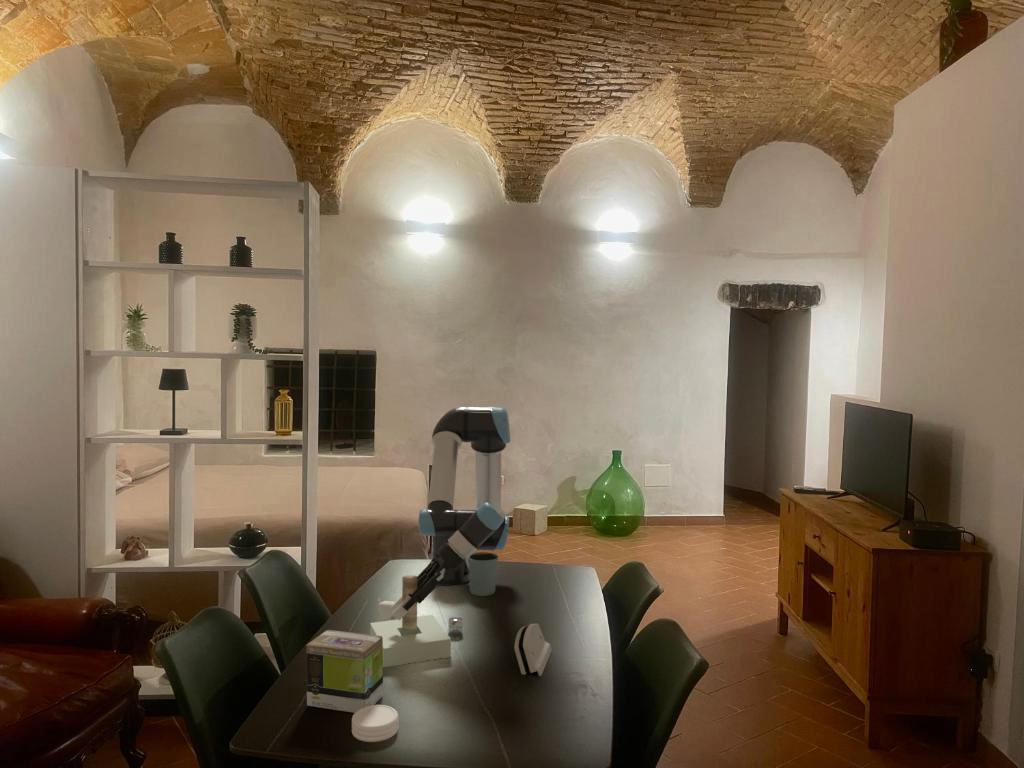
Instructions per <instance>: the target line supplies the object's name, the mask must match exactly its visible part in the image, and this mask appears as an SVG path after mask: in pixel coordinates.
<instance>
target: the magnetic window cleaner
mask: <svg viewBox="0 0 1024 768" xmlns="http://www.w3.org/2000/svg"><path fill="white" fill-rule="evenodd" d="M513 648H514V653H515V656H516V659H517V664H518V666H519V670H520V673H521V675H526V674H527V673H528V672H530V673H531V674H533V673H535V672H537V675H538V677H542V675H543V672H544V670H545V667H546V665H547V663H548V661H549V658H550V656H551V655H552V652H553V649H552V646H551V643H549V642H547V641H546V640H545V638H544V634H543V631H542V629H541V627H540V624H539V623H530V624H527V625H524V626H521V628H520V629H519V630H518V632H517V633H516V637H515V641H514V647H513Z"/></svg>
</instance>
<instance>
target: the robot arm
mask: <svg viewBox="0 0 1024 768" xmlns="http://www.w3.org/2000/svg"><path fill="white" fill-rule="evenodd" d="M431 435H432V436H431V444H432V446H433V453H432V454H433V456H432V465H431V473H430V482H429V492H428V499H427V501H428V502H427V508H424V509H420V511H419V513H418V533H419V534H420V535H421V536H430V537H432V545H431V546H432V554H431V555H432V557H431V560H430V562H429V563H428V564H427V565H426V567H424V569H423V570H422V571H421V572H420V573H419V574H418V575H416V576H417V589H416V590H415V592H414V593H413V594H412V595H411V594H410V593H409V596H408V597H407V598H406V599H405V600H404V601H403V602H402V595H401V596H400V597H399V598H398V599H397V600H396V601H395V602H396V603H395V604H394V605H393V606H392V607H391V608H392V609H393V610H394V612H393V613H392V614H393V615H394V616H395V617H396V618H397V619H398V620H400V619H402V617H403V616H404V615H405V614H406V613H407V612H408V611H409V610H410V609H411V608H412V607H413V606H414V605H415V604H416V603H417V604H421V603H422V602H423V601H424V600H426V598H427V597H428V596H429V595H431V593H433V591H434V590H435V589H436V588H437V587H438V586H439V585H440V586H456V585H457V586H458V585H461V584H462V585H463V584H465V583H467V582H469V581H470V580H469V564H468V558H469V557H470V556H471V555H472V554H475V553H477V552H476V551H492V552H494V551H502V550H504V549H505V548H506V546H507V544H508V543H507V542H508V536H509V528H510V518H509V516H506V513H505V510H503V509H502V452H503V451H504V450H505V449H506V447H507V444H509V443H510V442H511V429H510V419H509V414H508V411H507V409H506V408H504V407H495V406H487V407H486V406H484V407H483V406H458V407H455V408H452V409H451V410H449V411H447V412H446V413H444V414H443V416H441V417H440V419H439V420H438V422H437V423H436V424H435V427H434V428H433V431H432V434H431ZM462 443H470V447H471V448H470V449H472V450H473V451H474V452H475V509H454V500H455V490H456V480H457V479H456V478H457V477H456V476H457V465H458V455H459V453H458V452H459V449H460V448H461V447H462Z"/></svg>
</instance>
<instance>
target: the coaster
mask: <svg viewBox="0 0 1024 768" xmlns="http://www.w3.org/2000/svg"><path fill="white" fill-rule="evenodd" d="M399 725H400V724H399V712H398V711H397V709H395V708H393V707H392V706H389V705H386V704H385V705H384V704H375V705H371V706H367V707H364V708H361V709H360V710H358V711H357V712H355V713H353V715H352V717H351V734H352V736H353V737H354V738H355V739H356V740H358V741H362V742H366V743H377V742H383V741H386V740H388V739H391V738H392V737H393V736H395V735H396V734H397V733H398V730H399Z"/></svg>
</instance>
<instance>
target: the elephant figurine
mask: <svg viewBox="0 0 1024 768" xmlns="http://www.w3.org/2000/svg"><path fill="white" fill-rule="evenodd" d="M396 602H397V601H392V600H384V601H382V596H381V595H379V596H378V599H377V603H378V604H377V605H378V606H377V608H378V609H377V619H376V620H377V621H378V620H379V622H382V621H389V620H397V618H396V617H395V616H394V615H393V614H392V613H393V612H394V610H393V609H392V608H391V607H392V606H393V605H394V604H395V603H396Z"/></svg>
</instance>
